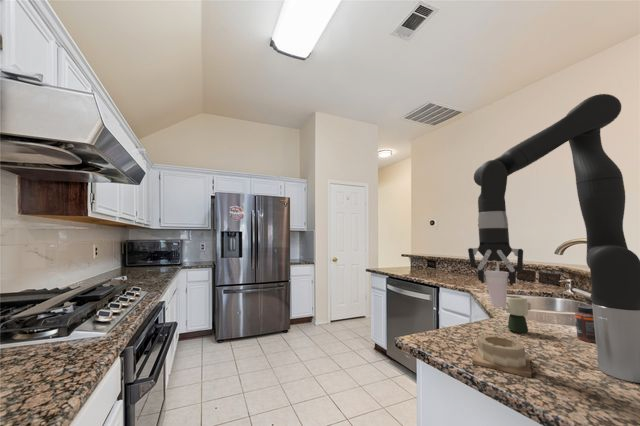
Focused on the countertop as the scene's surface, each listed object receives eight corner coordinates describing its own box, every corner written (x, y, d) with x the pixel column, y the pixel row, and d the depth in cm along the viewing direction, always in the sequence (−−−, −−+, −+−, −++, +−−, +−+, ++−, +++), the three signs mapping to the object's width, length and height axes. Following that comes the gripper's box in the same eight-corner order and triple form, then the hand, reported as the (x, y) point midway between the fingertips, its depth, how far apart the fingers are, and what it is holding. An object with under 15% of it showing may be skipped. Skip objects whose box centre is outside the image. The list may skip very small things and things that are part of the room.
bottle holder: (529, 359, 77) (527, 340, 78) (531, 377, 67) (529, 355, 68) (477, 349, 85) (476, 331, 86) (472, 363, 75) (471, 343, 75)
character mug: (525, 328, 105) (522, 295, 107) (540, 335, 98) (537, 298, 100) (497, 328, 105) (495, 295, 107) (510, 334, 98) (507, 298, 100)
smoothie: (511, 309, 73) (507, 258, 75) (484, 305, 77) (481, 257, 79) (512, 305, 78) (508, 257, 80) (486, 302, 82) (483, 256, 84)
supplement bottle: (606, 343, 90) (602, 309, 91) (588, 343, 90) (585, 309, 92) (589, 337, 96) (586, 305, 97) (572, 337, 96) (569, 304, 97)
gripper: (522, 227, 79) (527, 284, 77) (467, 228, 87) (470, 280, 86) (523, 226, 73) (528, 288, 71) (464, 227, 81) (467, 283, 80)
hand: (496, 283), depth 78 cm, fingers closed on smoothie, 6 cm apart
